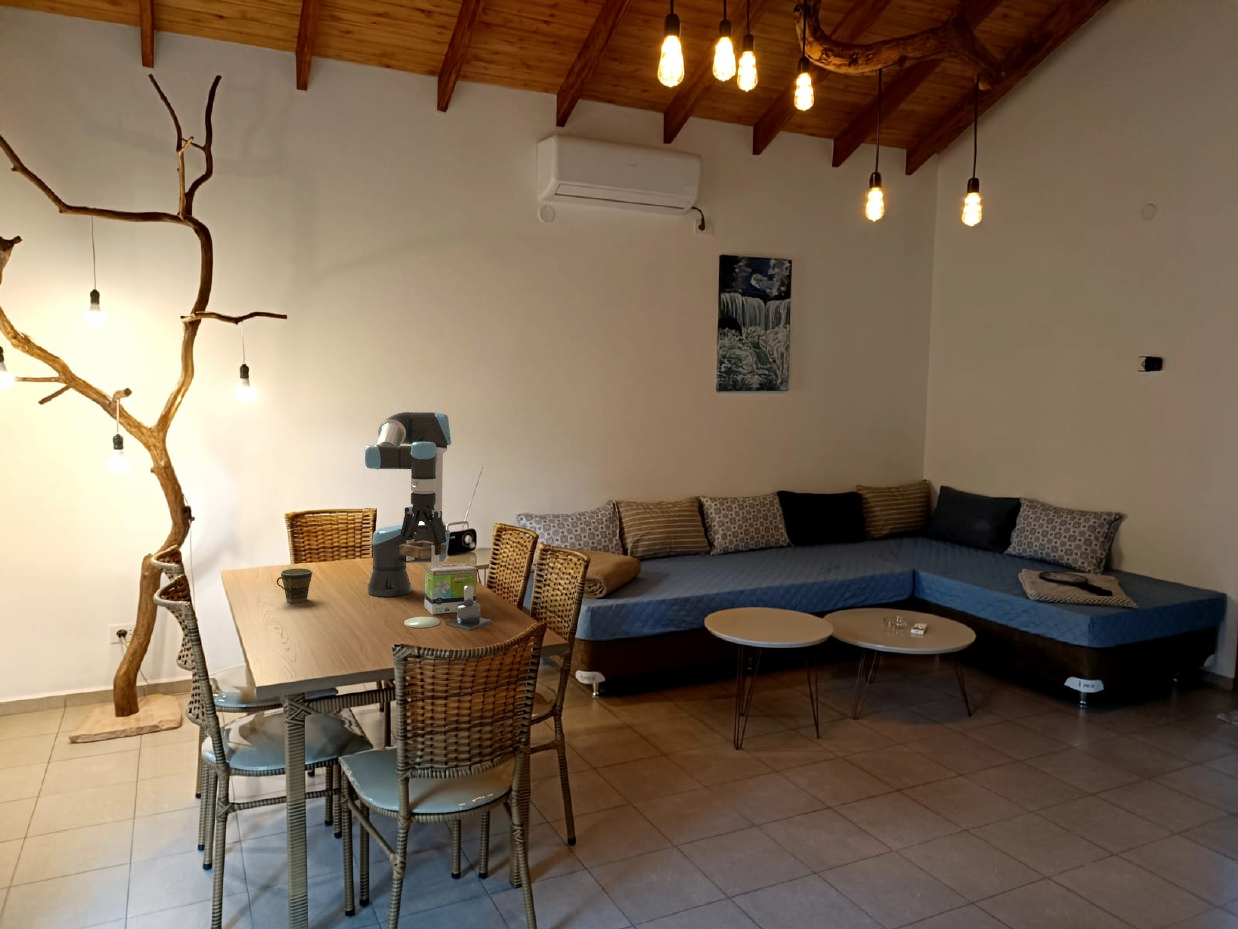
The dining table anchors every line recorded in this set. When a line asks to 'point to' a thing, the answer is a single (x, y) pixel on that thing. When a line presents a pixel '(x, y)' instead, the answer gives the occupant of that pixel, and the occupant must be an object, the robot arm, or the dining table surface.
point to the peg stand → (468, 613)
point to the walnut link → (419, 549)
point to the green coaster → (422, 622)
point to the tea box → (448, 586)
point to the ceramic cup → (296, 584)
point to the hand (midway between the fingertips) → (422, 562)
